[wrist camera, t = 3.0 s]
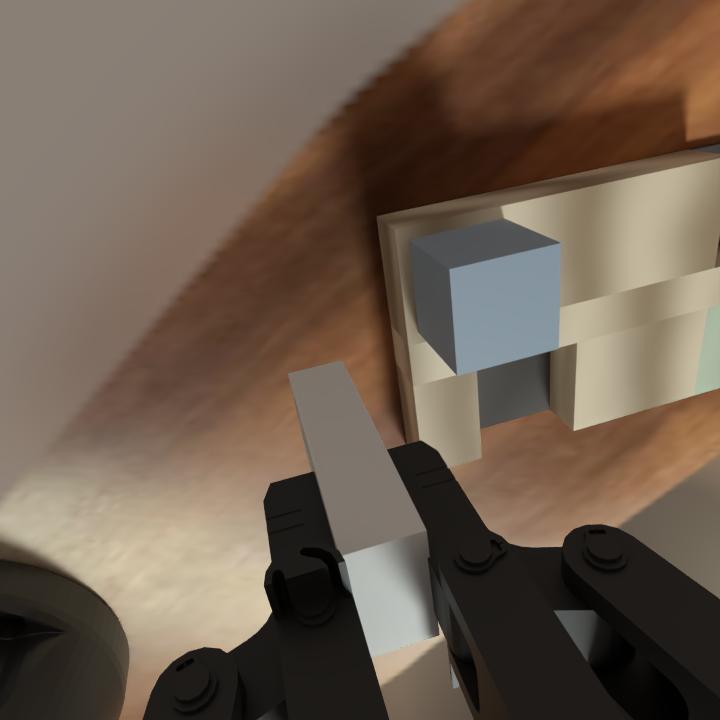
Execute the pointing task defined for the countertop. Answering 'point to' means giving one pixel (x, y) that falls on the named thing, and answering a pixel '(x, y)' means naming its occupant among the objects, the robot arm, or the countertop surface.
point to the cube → (487, 293)
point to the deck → (577, 300)
